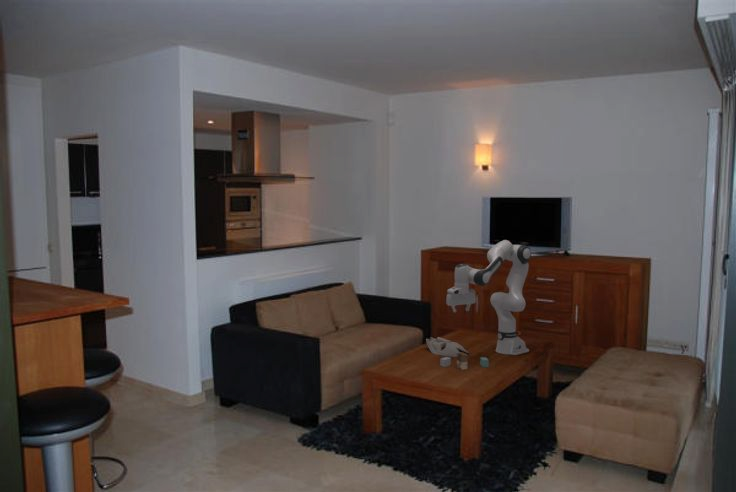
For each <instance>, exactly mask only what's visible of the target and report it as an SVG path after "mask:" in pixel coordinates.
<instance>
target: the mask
mask: <svg viewBox="0 0 736 492" xmlns="http://www.w3.org/2000/svg"><path fill="white" fill-rule="evenodd" d="M425 340H426V341H425V343H426V345H427V346H428V350H429V351H430V352H431V354H434V355H436V356H442V357H449V358H457V353H458V352H460V351H461V352H463V353H465V354H469V353H470V352H469V351H468V350H467V349H465V348H464V347H463V346H462V345H461V344H459V343H458V342H456V341H455V342H454V341H452V340H448V339H446V338H443V337H440V336H437V338H434V337H429V338H425ZM442 347H444V348H442Z"/></svg>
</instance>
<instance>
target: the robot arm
mask: <svg viewBox="0 0 736 492" xmlns="http://www.w3.org/2000/svg"><path fill="white" fill-rule="evenodd" d="M486 253H487V254H486V258H487V260H488V262H489V265H488V266H487V267H485V268H484V269H478V268H473V267H471V266H469V265H468V264H467V263H458V264H457V265H456V266H455V268H454V277H453V278H454V286H452V287H451V288H448V289H447V291H446V293H447V294H446V299H445V300H446V301H445V302H446V303H445V304H446V305H447V306H449V307H451V309H452V312H453V313H457V310H458V309H457V308H456V306H462V305H467V306H466V308H465V312H469V311H470V308H471V305H472V304H474V305H475V304H476V301H477V298H476V297H477V296H476V290H475V289H474V288H470V287H469V284H472V285H475V286H476V285H477V286H479V287H485V286H487V285H488V284H489V282H490V281H491V279H492V277H493V276H494V275H495V274H496V273H497V272H498V270H499V269H500V268H502V265H503V263H504V261H507V262H512V266H511V268H510V271H509V273H508V276H507V278H506V282H505V284H506V286H507V288H508V289H509V291H508V293H506V292H502V291H498V292H494V293H492V294H491V296H490V298H489V299H490V304H491V306H492V307H493V309H494V310H495V312H496V315H497V318H498V319H497V320H498V330H497V342H496V349H495V352H496V353H498V354H502V355H510V356H511V355H512V356H517V355H521V354H525V353H529V352H530V349H529V348H528V347H526V346H527V345H526V342H525V341H524V340H523V339H521V337H519V336H518V335H521V331H519V330H518V331H517V330H516V326H517V324H516V322H517V320H516V318H515V317H514V315H513V313H511V312H514V313H516V312H517V313H519V312H523V311H524V310H525V308H526V303H527V302H526V299H525V298H524V295H523V288H524V284H525V281H526V278H527V277H528V272H529V266H530V265H529V262H530V259H531V257H532V250H531V248H530V247H529V246H527V245H524V244H512V242H510V240H507V239H503V240H502V241H499V242H497V243H496V244H495V245H493V246H491V248H490V249H489V250H488V251H487V252H486Z"/></svg>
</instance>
